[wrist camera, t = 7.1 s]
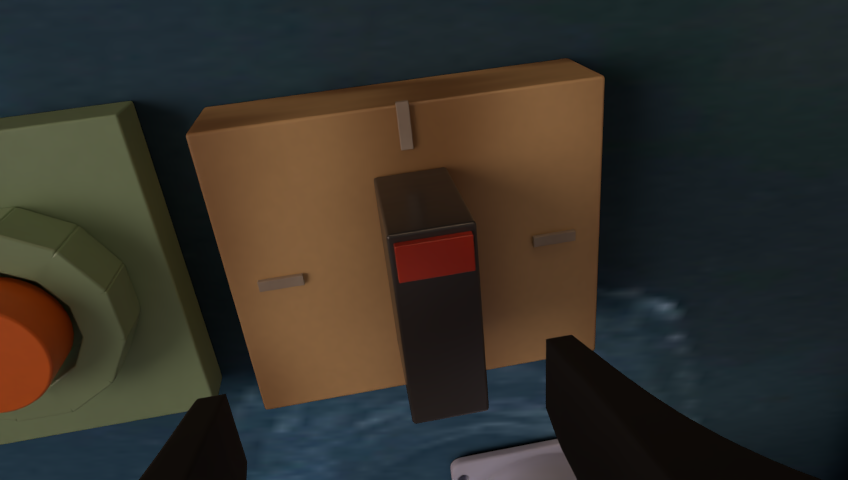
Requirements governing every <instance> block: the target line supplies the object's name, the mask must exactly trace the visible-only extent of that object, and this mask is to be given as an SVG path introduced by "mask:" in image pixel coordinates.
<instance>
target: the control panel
mask: <svg viewBox="0 0 848 480" xmlns="http://www.w3.org/2000/svg"><path fill="white" fill-rule="evenodd" d="M604 84H605V78H604V76H603V75H601V74H599V73H597V72H595V71H592V70H590V69H588V68H586V67H584V66H582V65H580V64H578V63H576V62H574V61H572V60H570V59H568V58H566V59H558V60H551V61H544V62H536V63H529V64H521V65H514V66H507V67H499V68H492V69H485V70H477V71H470V72H463V73H455V74H448V75H440V76H433V77H426V78H418V79H411V80H404V81H396V82H389V83H382V84H374V85H367V86H359V87H352V88H345V89H337V90H330V91H323V92H315V93H308V94H301V95H293V96H286V97H278V98H271V99H264V100H256V101H249V102H242V103H234V104H227V105H220V106H212V107H206V108H204V109H203V110H202V112H201V113H200V115H199V116H198V118H197V119H196V121H195V122H194V124H193V125H192V127H191V128H190V129H189V131H188V132H187V134H186V139H187V142H188V146H189V149H190V153H191V156H192V160H193V163H194V166H195V170H196V173H197V177H198V180H199V183H200V187H201V190H202V194H203V197H204V201H205V204H206V207H207V211H208V214H209V218H210V221H211V225H212V228H213V231H214V235H215V238H216V242H217V245H218V249H219V252H220V255H221V259H222V262H223V266H224V269H225V273H226V276H227V279H228V283H229V286H230V290H231V293H232V297H233V300H234V303H235V307H236V310H237V314H238V317H239V321H240V324H241V327H242V331H243V334H244V338H245V341H246V345H247V348H248V351H249V355H250V358H251V362H252V365H253V368H254V372H255V375H256V379H257V382H258V386H259V389H260V392H261V396H262V399H263V403H264V406H265V408H266V409H273V408H279V407H284V406H290V405H295V404H301V403H306V402H312V401H317V400H323V399H328V398H334V397H339V396H345V395H351V394H356V393H362V392H367V391H373V390H378V389H384V388H389V387H395V386H400V385H406V383H405V378H404V373H403V367H402V362H401V357H400V352H399V346H398V341H397V334H396V328H395V321H394V314H393V307H392V301H391V294H390V287H389V281H388V274H387V267H386V261H385V254H384V247H383V241H382V234H381V227H380V220H379V214H378V207H377V200H376V194H375V187H374V178H376V177H383V176H389V175H396V174H403V173H409V172H416V171H423V170H429V169H436V168H443V167H445V168H446V169H447V170H448V172H449V174H450V176H451V178H452V180H453V181H454V183H455V185H456V187H457V189H458V191H459V193H460V194H461V196H462V198H463V200H464V202H465V204H466V205H467V207H468V209H469V211H470V213H471V215H472V217H473V218H474V220H475V222H476V226H477V240H478V255H479V270H480V285H481V300H482V314H483V329H484V344H485V359H486V370H489V369H494V368H500V367H505V366H511V365H516V364H522V363H527V362H533V361H538V360H544V359H546V339H549V338H555V337H561V336H567V335H573V336H574V337H575V338H577V339H578V340H579V341H581V342H582V343H583V344H585V345H586V346H587V347H588V348H590V349H591V350H592V351H593V350H594V349H595V328H596V301H597V274H598V247H599V220H600V193H601V166H602V138H603V111H604Z"/></svg>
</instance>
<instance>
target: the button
mask: <svg viewBox="0 0 848 480" xmlns="http://www.w3.org/2000/svg"><path fill="white" fill-rule="evenodd" d="M73 340H74V331H73V326H72V322H71V320H70V317H69V315H68V314H67V312H66V310H65V309H64V308H63V306H62V305H61V304H60V303H59V302H58V301H57V300H56V299H55V298H54V297H53V296H51V295H50V294H49V293H47V292H46V291H44V290H43V289H41V288H39V287H37V286H35V285H33V284H30V283H28V282H25V281H22V280H19V279H14V278H9V277H0V413H5V412H11V411H15V410H18V409H21V408H23V407H26V406H28V405H30V404H31V403H33V402H35V401H36V400H38V399H39V398H40V397H41V396H42V395H43V394H44V393H45V392H46V390H47V389H48V388H49V386H50V384H51V383H52V381H53V379H54V378H55V376H56V374H57V373H58V371H59V369H60V368H61V366H62V364H63V363H64V361H65V359H66V358H67V356H68V354H69V353H70V351H71V348H72V345H73Z"/></svg>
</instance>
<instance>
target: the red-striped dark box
mask: <svg viewBox="0 0 848 480" xmlns="http://www.w3.org/2000/svg"><path fill="white" fill-rule="evenodd" d="M374 187H375V194H376V200H377V207H378V214H379V220H380V227H381V234H382V241H383V247H384V254H385V261H386V267H387V274H388V281H389V287H390V294H391V301H392V307H393V314H394V321H395V328H396V334H397V341H398V346H399V352H400V357H401V362H402V367H403V373H404V378H405V383H406V389H407V394H408V399H409V404H410V410H411V415H412V420H413V422H414V423H416V424H417V423H422V422H427V421H433V420H438V419H444V418H449V417H454V416H460V415H465V414H470V413H476V412H481V411H486V410H488V408H489V403H488V388H487V373H486V359H485V344H484V329H483V314H482V300H481V285H480V270H479V255H478V240H477V226H476V222H475V220H474V218H473V217H472V215H471V213H470V211H469V209H468V207H467V205H466V204H465V202H464V200H463V198H462V196H461V194H460V193H459V191H458V189H457V187H456V185H455V183H454V181H453V180H452V178H451V176H450V174H449V172H448V170H447V169H446V168H445V167H443V168H436V169H429V170H423V171H416V172H409V173H403V174H396V175H389V176H383V177H376V178H374Z"/></svg>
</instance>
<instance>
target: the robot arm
mask: <svg viewBox="0 0 848 480" xmlns="http://www.w3.org/2000/svg"><path fill="white" fill-rule="evenodd" d="M546 409H547V412H548V415H549V417H550V420H551V423H552V426H553V429H554V431H555V434H556V436H557V439H553V440H548V441H543V442H538V443H532V444H527V445H522V446H517V447H512V448H506V449H501V450H496V451H491V452H486V453H481V454H475V455H470V456H465V457H460V458H457V459H455V460H454V461H453V462H452V463H451V467H450V468H451V477H452V480H821V479H819V478H816V477H813V476H811V475H808V474H805V473H803V472H800V471H798V470H795V469H792V468H790V467H788V466H785V465H783V464H780V463H778V462H775V461H773V460H771V459H768V458H766V457H764V456H762V455H760V454H758V453H755V452H753V451H751V450H749V449H747V448H745V447H742V446H740V445H738V444H736V443H734V442H732V441H730V440H728V439H726V438H724V437H722V436H720V435H718V434H717V433H715V432H713V431H711V430H709V429H707V428H706V427H704V426H702V425H700V424H698V423H696V422H695V421H693V420H691V419H689V418H688V417H686V416H684V415H683V414H681V413H679V412H678V411H676V410H675V409H673V408H672V407H670V406H668V405H667V404H665V403H664V402H662V401H661V400H659V399H657V398H656V397H654V396H653V395H651V394H650V393H649V392H647V391H646V390H644V389H643V388H641V387H640V386H639V385H637V384H636V383H634V382H633V381H632V380H630V379H629V378H627V377H626V376H625V375H623V374H622V373H621V372H619V371H618V370H617V369H615V368H614V367H613V366H611V365H610V364H609V363H608V362H606V361H605V360H604V359H602V358H601V357H600V356H599V355H597V354H596V353H595V352H593V351H592V350H591V349H590V348H588V347H587V346H586V345H585V344H583V343H582V342H581V341H579V340H578V339H577V338H575V337H574V336H573V335H567V336H561V337H555V338H549V339H546ZM462 475H464V476H462ZM246 476H247V460H246V457H245V454H244V450H243V447H242V444H241V441H240V438H239V435H238V431H237V428H236V425H235V422H234V419H233V416H232V412H231V409H230V406H229V403H228V400H227V397H226V394H222V395H216V396H210V397H205V398H199V399H197V400H196V401H195V402H194V403H193V405H192V406H191V408H190V409H189V410H188V412H187V413H186V415H185V416H184V418H183V419H182V421H181V422H180V423H179V425H178V426H177V428H176V429H175V431H174V432H173V434H172V435H171V436H170V438H169V439H168V441H167V442H166V444H165V445H164V446H163V448H162V449H161V451H160V452H159V453H158V455H157V456H156V457H155V459H154V460H153V462H152V463H151V464H150V466H149V467H148V468H147V470H146V471H145V472H144V474H143V475H142V477H141V478H140V479H139V480H246Z"/></svg>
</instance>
